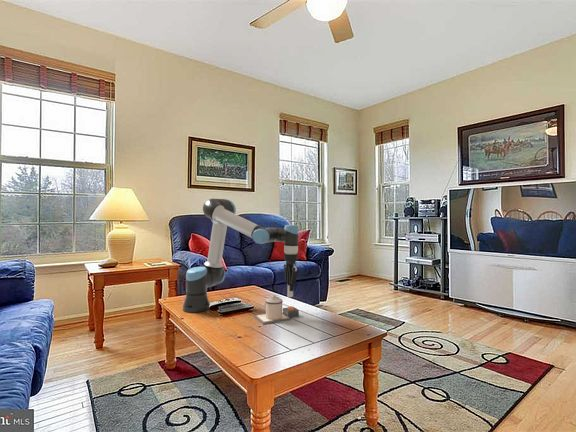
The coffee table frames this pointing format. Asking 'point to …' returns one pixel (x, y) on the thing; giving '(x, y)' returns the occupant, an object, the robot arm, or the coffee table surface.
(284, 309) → the button housing
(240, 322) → the coffee table surface
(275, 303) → the teacup with lid
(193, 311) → the robot arm
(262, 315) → the board
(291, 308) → the button
